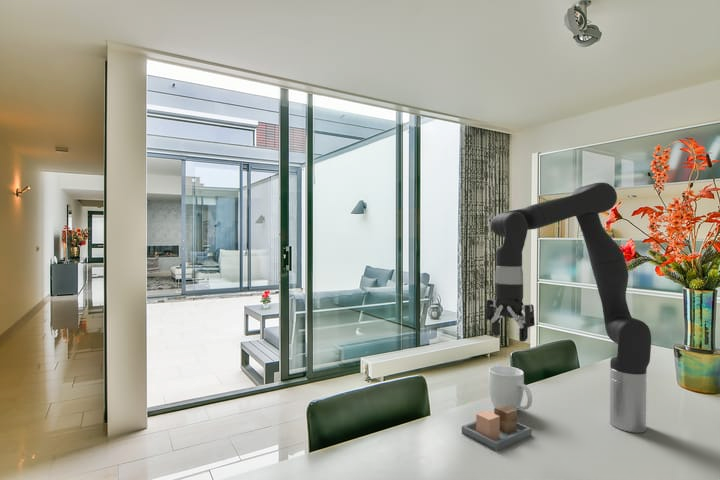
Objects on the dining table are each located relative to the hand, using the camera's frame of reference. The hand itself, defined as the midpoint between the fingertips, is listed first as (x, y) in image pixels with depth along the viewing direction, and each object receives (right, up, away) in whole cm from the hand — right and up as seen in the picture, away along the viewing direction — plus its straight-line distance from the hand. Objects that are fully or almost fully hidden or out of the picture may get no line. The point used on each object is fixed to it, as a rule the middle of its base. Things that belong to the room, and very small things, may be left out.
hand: (509, 338), depth 116 cm
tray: (-3, -28, +2) cm, 29 cm away
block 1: (-6, -28, -1) cm, 29 cm away
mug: (+6, -29, +18) cm, 34 cm away
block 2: (0, -28, +4) cm, 28 cm away
